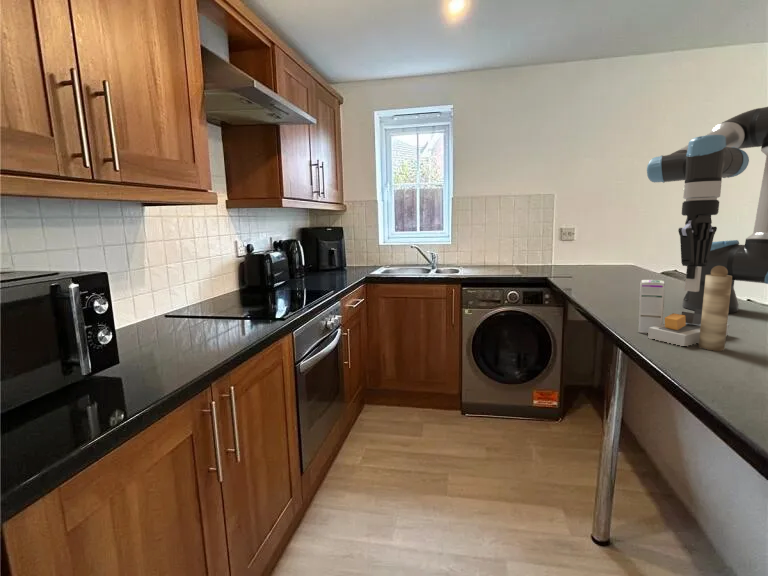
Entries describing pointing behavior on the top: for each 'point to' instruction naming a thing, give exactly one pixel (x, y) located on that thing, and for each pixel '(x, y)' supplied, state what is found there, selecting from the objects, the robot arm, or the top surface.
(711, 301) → the pepper mill
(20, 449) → the top surface
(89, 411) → the top surface
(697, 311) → the paddle
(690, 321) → the paddle middle
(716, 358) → the top surface
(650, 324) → the syrup box
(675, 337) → the breaker strip
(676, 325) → the paddle
